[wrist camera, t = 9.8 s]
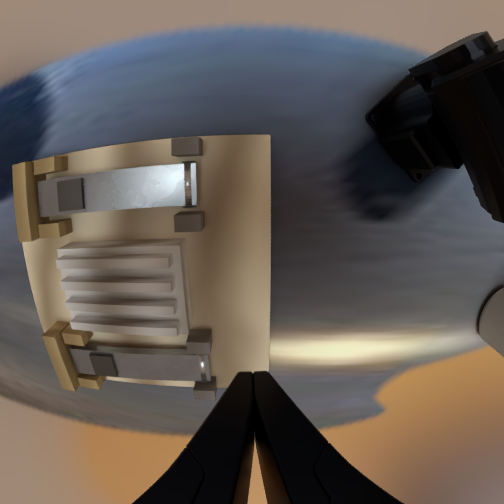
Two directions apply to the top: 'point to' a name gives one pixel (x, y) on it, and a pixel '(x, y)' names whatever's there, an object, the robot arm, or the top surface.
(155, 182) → the strap
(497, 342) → the beverage can
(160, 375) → the strap
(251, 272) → the heatsink board
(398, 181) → the top surface
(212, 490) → the robot arm
